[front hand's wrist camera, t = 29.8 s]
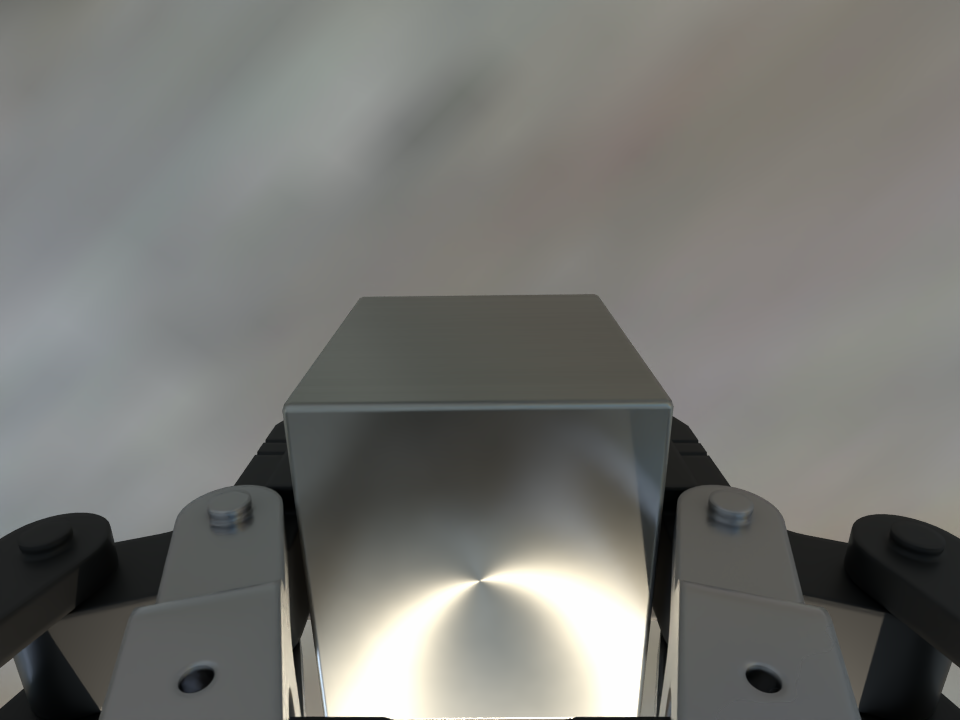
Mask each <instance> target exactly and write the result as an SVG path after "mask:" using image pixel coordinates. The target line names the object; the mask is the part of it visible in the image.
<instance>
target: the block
mask: <svg viewBox="0 0 960 720" xmlns="http://www.w3.org/2000/svg"><path fill="white" fill-rule="evenodd" d="M673 407H674V406H673V403H672V400H671V399H670V398H669V396H668V395H667V393H666V392H665V390H664V389H663V388H662V386H661V385H660V383H659V382H658V381H657V379H656V378H655V376H654V375H653V373H652V372H651V371H650V369H649V368H648V366H647V365H646V363H645V362H644V361H643V359H642V358H641V356H640V355H639V353H638V352H637V351H636V349H635V348H634V346H633V345H632V343H631V342H630V341H629V339H628V338H627V336H626V335H625V334H624V332H623V331H622V329H621V328H620V326H619V325H618V324H617V322H616V321H615V319H614V318H613V316H612V315H611V314H610V312H609V311H608V309H607V308H606V306H605V305H604V304H603V302H602V301H601V299H600V298H599V296H597V295H595V294H580V295H493V296H406V297H362V298H360V299H359V300H358V302H357V303H356V305H355V306H354V307H353V309H352V310H351V312H350V313H349V314H348V316H347V317H346V319H345V320H344V321H343V323H342V324H341V326H340V327H339V328H338V330H337V331H336V333H335V334H334V335H333V337H332V338H331V340H330V341H329V342H328V344H327V345H326V347H325V348H324V349H323V351H322V352H321V354H320V355H319V356H318V358H317V359H316V361H315V362H314V363H313V365H312V366H311V368H310V369H309V370H308V372H307V373H306V375H305V376H304V377H303V379H302V380H301V382H300V383H299V384H298V386H297V387H296V389H295V390H294V391H293V393H292V394H291V396H290V397H289V398H288V400H287V401H286V403H285V404H284V406H283V410H282V412H283V419H284V426H285V434H286V441H287V448H288V456H289V463H290V470H291V478H292V485H293V493H294V500H295V507H296V515H297V522H298V529H299V537H300V544H301V551H302V559H303V566H304V573H305V581H306V588H307V595H308V603H309V610H310V617H311V625H312V632H313V639H314V647H315V654H316V662H317V669H318V676H319V684H320V691H321V698H322V706H323V713H324V717H386V718H390V719H394V720H517V719H570V718H574V717H639V716H640V714H641V707H642V697H643V688H644V679H645V669H646V660H647V650H648V641H649V632H650V622H651V613H652V604H653V594H654V585H655V575H656V566H657V557H658V547H659V538H660V528H661V519H662V510H663V500H664V491H665V482H666V472H667V463H668V453H669V444H670V435H671V425H672V416H673Z"/></svg>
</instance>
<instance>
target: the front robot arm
mask: <svg viewBox="0 0 960 720" xmlns="http://www.w3.org/2000/svg"><path fill="white" fill-rule="evenodd" d="M307 620H311V617H310V610H309V603H308V595H307V588H306V581H305V573H304V566H303V559H302V551H301V544H300V537H299V529H298V522H297V515H296V507H295V500H294V493H293V485H292V478H291V470H290V463H289V456H288V448H287V441H286V434H285V426H284V420H283V421H282V422H280V423H279V424H277V425H276V426H275V427H274V428H273V430H272V431H271V433H270V434H269V436H268V437H267V439H266V443H263V444H262V446H261V447H260V449H259V450H258V452H257V455H255V456H254V457H253V459H252V460H251V462H250V463H249V465H248V466H247V468H246V469H245V470H244V472H243V473H242V475H241V476H240V478H239V479H238V481H237V482H236V483H235V485H234V486H231V487H226V488H222V489H218V490H215V491H212V492H209V493H207V494H205V495H203V496H200V497H199V498H197V499H195V500H193V501H192V502H191V503H189V504H188V505H187V506H185V507H184V508H183V509H182V510H181V512H180V513H179V515H178V516H177V519H176V522H175V526H174V530H173V531H171V532H167V533H162V534H158V535H153V536H147V537H142V538H137V539H131V540H126V541H121V542H116V543H114V539H113V535H112V531H111V527H110V524H109V522H108V521H107V520H106V519H105V518H104V517H102V516H100V515H96V514H91V513H68V514H62V515H57V516H52V517H48V518H45V519H42V520H38V521H35V522H33V523H30V524H28V525H25V526H23V527H21V528H19V529H17V530H15V531H13V532H11V533H9V534H7V535H6V536H4V537H2V538H1V539H0V668H1V667H2V666H3V665H4V664H6V663H7V662H8V661H9V660H11V659H12V658H14V661H15V664H16V667H17V670H18V673H19V676H20V678H21V681H22V684H23V687H24V689H23V690H22V691H20V692H19V693H18V694H17V695H16V696H15V697H13V698H12V699H11V700H10V701H9V702H8V703H6V704H5V705H4V706H3V707H2V708H1V709H0V720H394V719H390V718H386V717H306V708H305V690H304V673H303V655H302V647H301V639H300V638H301V636H302V633H303V630H304V627H305V625H306V622H307ZM651 620H657V621H658V624H659V626H660V629H661V632H660V640H659V647H658V656H657V673H656V690H655V708H654V717H574V718H570V719H566V720H960V709H959V708H958V707H957V706H956V705H955V704H954V703H952V702H951V701H950V700H949V699H948V698H947V697H945V696H944V695H943V694H942V693H941V692H942V689H943V686H944V683H945V681H946V678H947V675H948V672H949V669H950V666H951V663H952V662H953V663H954V664H956V665H957V666H958V667H959V668H960V539H959V538H958V537H956V536H954V535H952V534H950V533H949V532H947V531H945V530H943V529H940V528H938V527H936V526H933V525H931V524H928V523H926V522H922V521H919V520H916V519H912V518H908V517H903V516H897V515H887V514H875V515H868V516H865V517H862V518H860V519H858V520H857V521H856V522H855V523H854V524H853V527H852V530H851V534H850V538H849V542H848V543H845V542H840V541H834V540H829V539H824V538H819V537H813V536H808V535H803V534H799V533H795V532H792V531H788V530H786V526H785V522H784V519H783V516H782V515H781V513H780V512H779V510H778V509H777V508H776V507H775V506H773V505H772V504H771V503H769V502H768V501H767V500H765V499H763V498H762V497H760V496H758V495H755V494H753V493H751V492H748V491H745V490H742V489H738V488H734V487H731V486H730V485H729V483H728V482H727V481H726V479H725V478H724V476H723V475H722V473H721V472H720V471H719V469H718V468H717V466H716V465H715V463H714V462H713V461H712V459H711V458H710V456H707V452H706V451H705V449H704V448H703V446H702V445H701V443H698V439H697V438H696V436H695V435H694V434H693V432H692V431H691V429H690V428H689V426H688V425H686V424H684V423H683V422H681V421H680V420H678V419H676V418H675V417H673V416H672V425H671V435H670V444H669V453H668V463H667V472H666V482H665V491H664V500H663V510H662V519H661V528H660V538H659V547H658V557H657V566H656V575H655V585H654V594H653V604H652V613H651Z"/></svg>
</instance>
